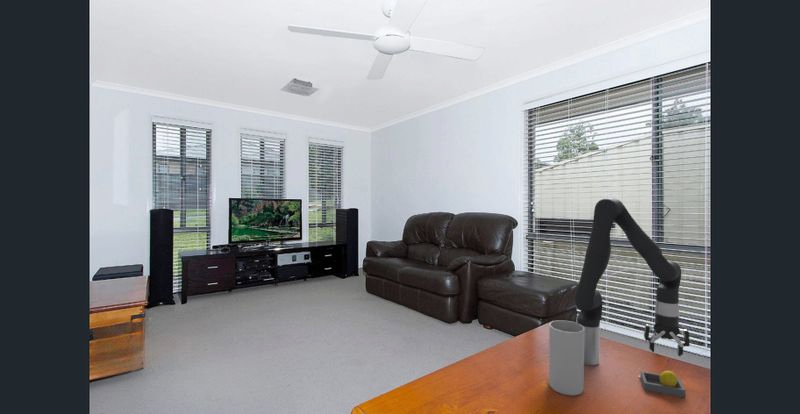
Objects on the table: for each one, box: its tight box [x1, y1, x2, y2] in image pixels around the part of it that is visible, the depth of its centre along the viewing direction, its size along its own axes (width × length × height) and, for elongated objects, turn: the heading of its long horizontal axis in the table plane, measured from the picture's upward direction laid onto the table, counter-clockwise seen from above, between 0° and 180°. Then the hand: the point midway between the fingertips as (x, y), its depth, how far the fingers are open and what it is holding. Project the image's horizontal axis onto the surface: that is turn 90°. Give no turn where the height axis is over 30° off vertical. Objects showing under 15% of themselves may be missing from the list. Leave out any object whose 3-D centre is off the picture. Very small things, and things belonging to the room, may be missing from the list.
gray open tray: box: [639, 371, 686, 399], centre depth 146 cm, size 13×10×3 cm
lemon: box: [660, 370, 678, 387], centre depth 144 cm, size 6×6×8 cm
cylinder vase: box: [548, 320, 585, 397], centre depth 147 cm, size 12×12×25 cm
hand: (665, 353), depth 145 cm, fingers open, 8 cm apart
